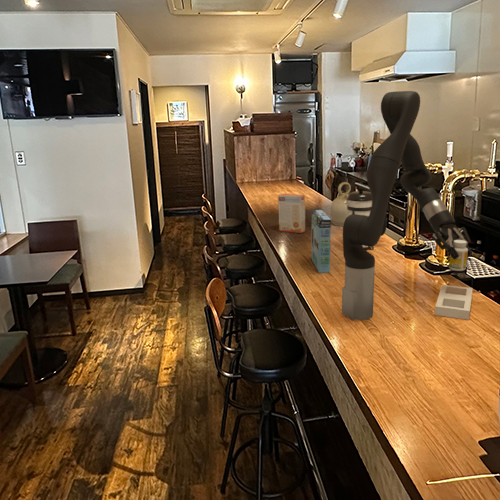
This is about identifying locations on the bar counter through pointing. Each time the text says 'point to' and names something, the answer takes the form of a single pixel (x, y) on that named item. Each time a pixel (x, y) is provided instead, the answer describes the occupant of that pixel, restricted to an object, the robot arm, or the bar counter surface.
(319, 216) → the gum box
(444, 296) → the bottle caddy
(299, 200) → the cracker box
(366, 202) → the coffee press
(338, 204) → the jug
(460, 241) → the supplement bottle
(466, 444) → the bar counter surface
